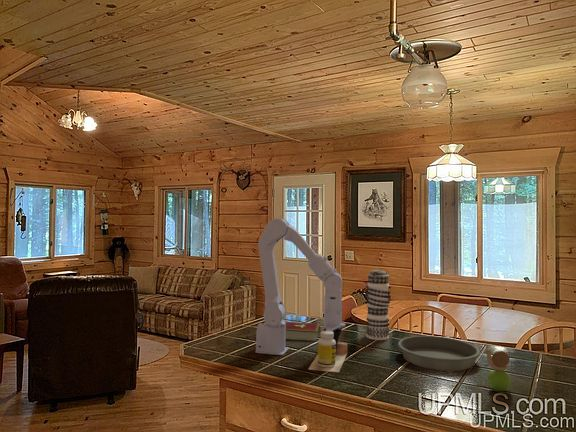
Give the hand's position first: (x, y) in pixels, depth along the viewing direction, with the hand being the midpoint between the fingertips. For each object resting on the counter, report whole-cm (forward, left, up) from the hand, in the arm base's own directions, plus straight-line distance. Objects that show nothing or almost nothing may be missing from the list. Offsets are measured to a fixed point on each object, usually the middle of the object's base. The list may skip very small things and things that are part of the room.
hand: (332, 351), depth 141 cm
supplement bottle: (0, -11, -1) cm, 11 cm away
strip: (0, -6, -1) cm, 6 cm away
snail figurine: (+46, -17, -1) cm, 49 cm away
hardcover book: (-19, +19, -2) cm, 27 cm away
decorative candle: (+13, +27, -1) cm, 30 cm away
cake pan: (+33, +6, -2) cm, 34 cm away
